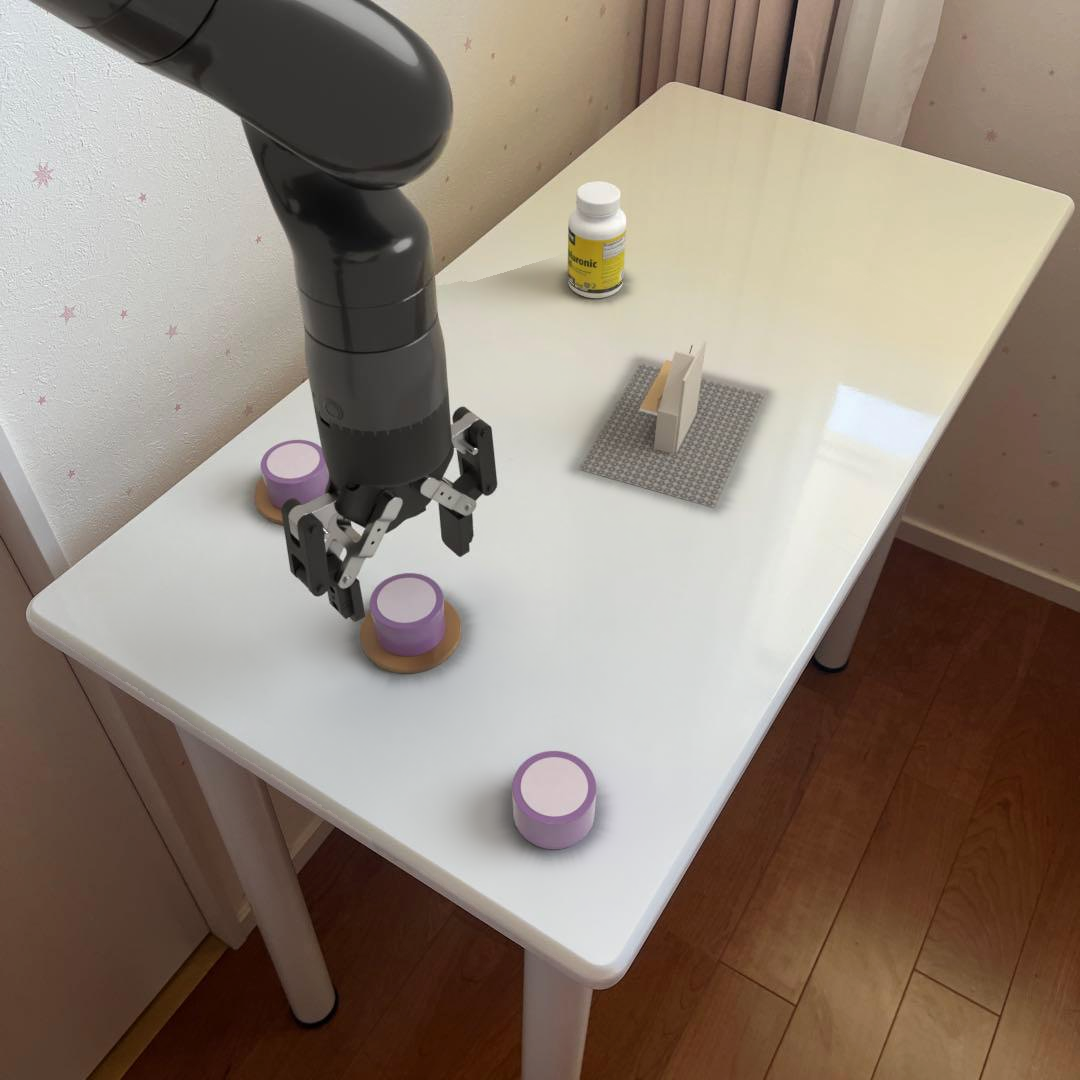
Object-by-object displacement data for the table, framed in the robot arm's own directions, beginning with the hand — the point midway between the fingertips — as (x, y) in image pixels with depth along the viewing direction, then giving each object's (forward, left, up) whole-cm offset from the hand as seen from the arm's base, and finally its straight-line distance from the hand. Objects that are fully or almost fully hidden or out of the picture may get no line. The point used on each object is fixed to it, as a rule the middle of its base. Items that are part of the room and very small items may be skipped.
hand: (404, 579), depth 73 cm
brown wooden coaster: (0, 0, -6) cm, 6 cm away
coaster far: (+2, +17, -6) cm, 18 cm away
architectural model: (+30, +3, -6) cm, 30 cm away
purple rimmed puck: (-2, -17, -6) cm, 18 cm away
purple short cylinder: (+2, +17, -6) cm, 18 cm away
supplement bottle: (+40, +23, -6) cm, 46 cm away
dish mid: (0, 0, -6) cm, 6 cm away
